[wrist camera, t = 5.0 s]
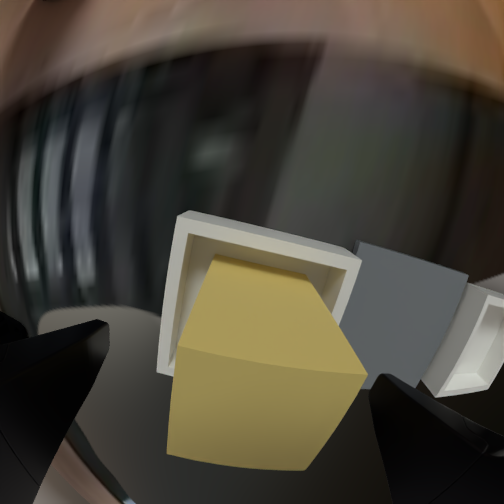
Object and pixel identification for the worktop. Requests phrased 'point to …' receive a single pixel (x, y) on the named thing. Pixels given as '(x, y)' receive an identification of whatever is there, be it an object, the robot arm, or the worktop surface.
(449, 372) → the white square tray
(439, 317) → the slate coaster
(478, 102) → the worktop surface
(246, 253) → the shallow white dish
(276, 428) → the tan carton
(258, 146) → the worktop surface
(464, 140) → the worktop surface
